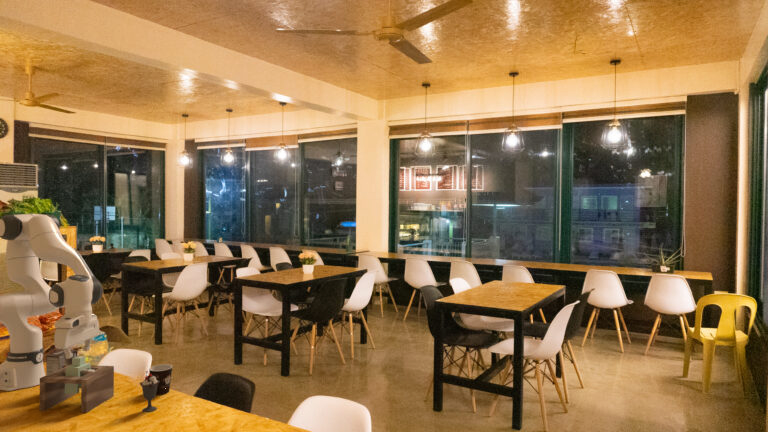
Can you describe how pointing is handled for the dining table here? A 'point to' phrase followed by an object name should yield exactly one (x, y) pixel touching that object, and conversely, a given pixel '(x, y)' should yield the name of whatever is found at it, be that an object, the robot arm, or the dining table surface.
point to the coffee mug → (162, 377)
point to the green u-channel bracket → (76, 373)
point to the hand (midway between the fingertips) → (78, 354)
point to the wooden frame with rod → (93, 387)
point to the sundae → (149, 390)
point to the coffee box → (58, 361)
